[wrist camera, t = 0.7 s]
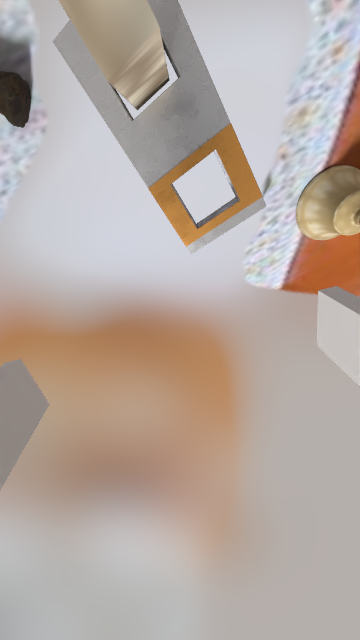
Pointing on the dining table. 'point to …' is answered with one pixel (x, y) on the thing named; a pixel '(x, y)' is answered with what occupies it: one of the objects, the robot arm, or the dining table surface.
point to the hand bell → (331, 204)
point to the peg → (122, 44)
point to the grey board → (172, 128)
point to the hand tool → (14, 98)
